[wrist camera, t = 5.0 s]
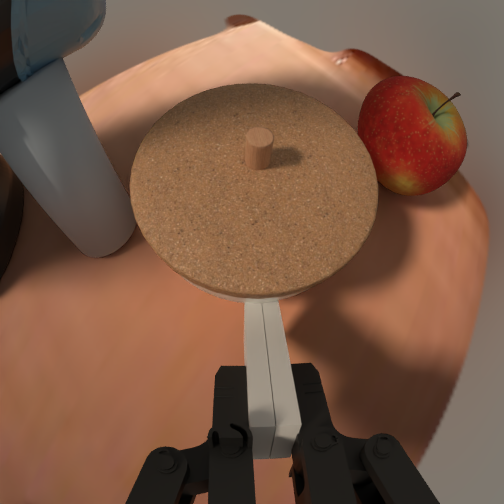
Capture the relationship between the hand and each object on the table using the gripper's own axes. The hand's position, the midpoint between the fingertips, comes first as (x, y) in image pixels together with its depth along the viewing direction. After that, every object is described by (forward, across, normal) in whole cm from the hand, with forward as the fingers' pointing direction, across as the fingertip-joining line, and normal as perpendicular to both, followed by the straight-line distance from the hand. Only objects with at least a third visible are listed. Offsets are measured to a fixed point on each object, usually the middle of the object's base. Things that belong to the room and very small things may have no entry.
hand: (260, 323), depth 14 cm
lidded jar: (+7, 0, +2) cm, 7 cm away
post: (+7, -10, +2) cm, 13 cm away
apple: (+11, +11, +6) cm, 16 cm away
